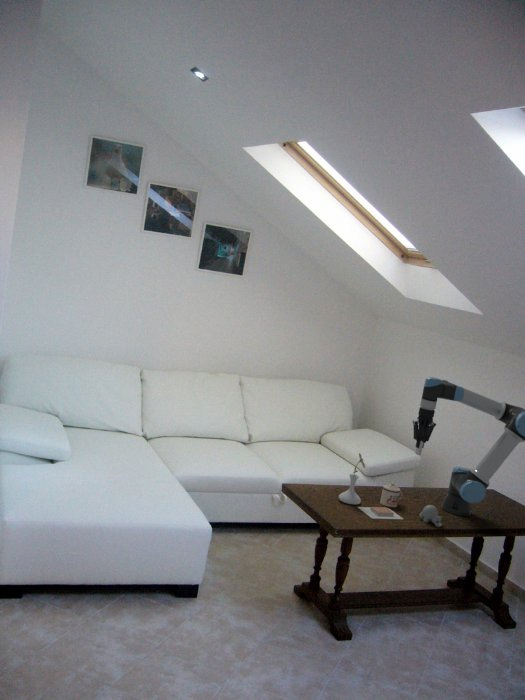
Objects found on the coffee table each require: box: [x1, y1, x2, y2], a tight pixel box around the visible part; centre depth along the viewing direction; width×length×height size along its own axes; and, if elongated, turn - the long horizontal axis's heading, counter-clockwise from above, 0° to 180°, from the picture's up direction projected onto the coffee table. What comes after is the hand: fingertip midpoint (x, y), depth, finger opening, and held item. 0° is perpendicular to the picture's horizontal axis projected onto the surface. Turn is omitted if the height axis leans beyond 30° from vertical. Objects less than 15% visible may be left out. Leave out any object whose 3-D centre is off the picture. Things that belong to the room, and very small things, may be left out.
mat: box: [357, 506, 404, 520], centre depth 334 cm, size 18×14×1 cm
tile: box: [370, 506, 394, 516], centre depth 334 cm, size 2×7×9 cm
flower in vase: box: [337, 452, 366, 505], centre depth 343 cm, size 13×11×25 cm
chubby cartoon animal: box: [418, 504, 443, 528], centre depth 332 cm, size 7×12×8 cm, turn 32°
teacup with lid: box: [379, 482, 403, 508], centre depth 350 cm, size 12×9×12 cm
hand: (418, 454), depth 343 cm, fingers closed
